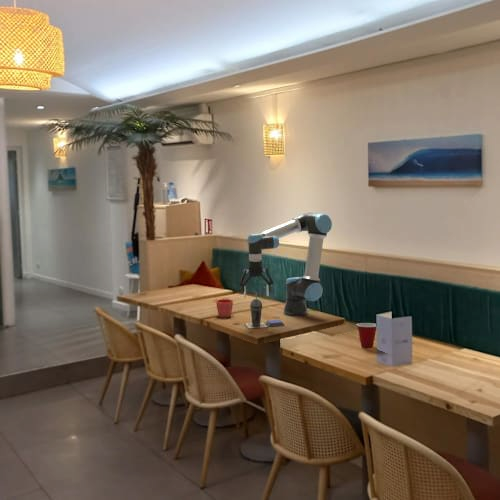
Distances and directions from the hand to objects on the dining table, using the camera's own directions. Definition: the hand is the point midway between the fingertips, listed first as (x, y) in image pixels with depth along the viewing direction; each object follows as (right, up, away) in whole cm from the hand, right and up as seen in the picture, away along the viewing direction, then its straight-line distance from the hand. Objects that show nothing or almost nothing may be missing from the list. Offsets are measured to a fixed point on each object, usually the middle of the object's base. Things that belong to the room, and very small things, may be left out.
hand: (256, 296), depth 368 cm
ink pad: (+11, -17, +5) cm, 21 cm away
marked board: (0, -17, +2) cm, 18 cm away
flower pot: (-20, -15, +30) cm, 39 cm away
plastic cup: (+56, -22, -46) cm, 76 cm away
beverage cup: (0, -17, +2) cm, 17 cm away
